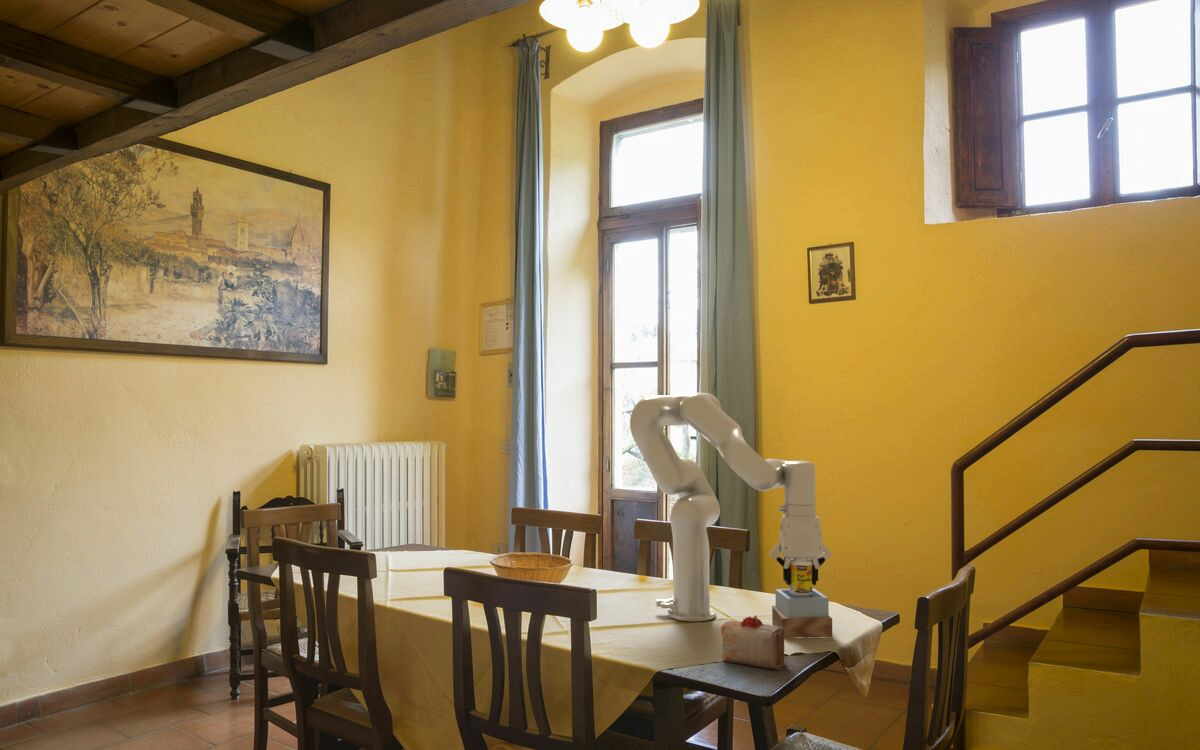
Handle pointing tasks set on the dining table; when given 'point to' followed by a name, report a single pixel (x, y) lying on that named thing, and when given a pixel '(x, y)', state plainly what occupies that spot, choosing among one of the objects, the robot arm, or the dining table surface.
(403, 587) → the dining table surface
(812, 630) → the tower base
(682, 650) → the dining table surface
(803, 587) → the supplement bottle
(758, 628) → the food item
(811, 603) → the tower top
